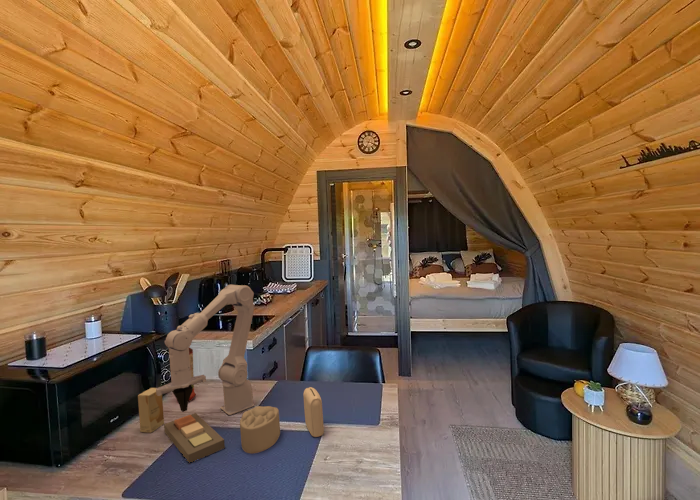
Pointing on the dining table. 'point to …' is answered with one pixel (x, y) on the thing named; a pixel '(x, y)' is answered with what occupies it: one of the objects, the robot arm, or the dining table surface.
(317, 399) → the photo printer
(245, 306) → the robot arm
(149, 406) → the skincare box
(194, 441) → the sage key
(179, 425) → the terracotta key
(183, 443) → the keypad base
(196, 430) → the cream key
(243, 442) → the lumpy-topped squat cylinder
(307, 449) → the dining table surface
